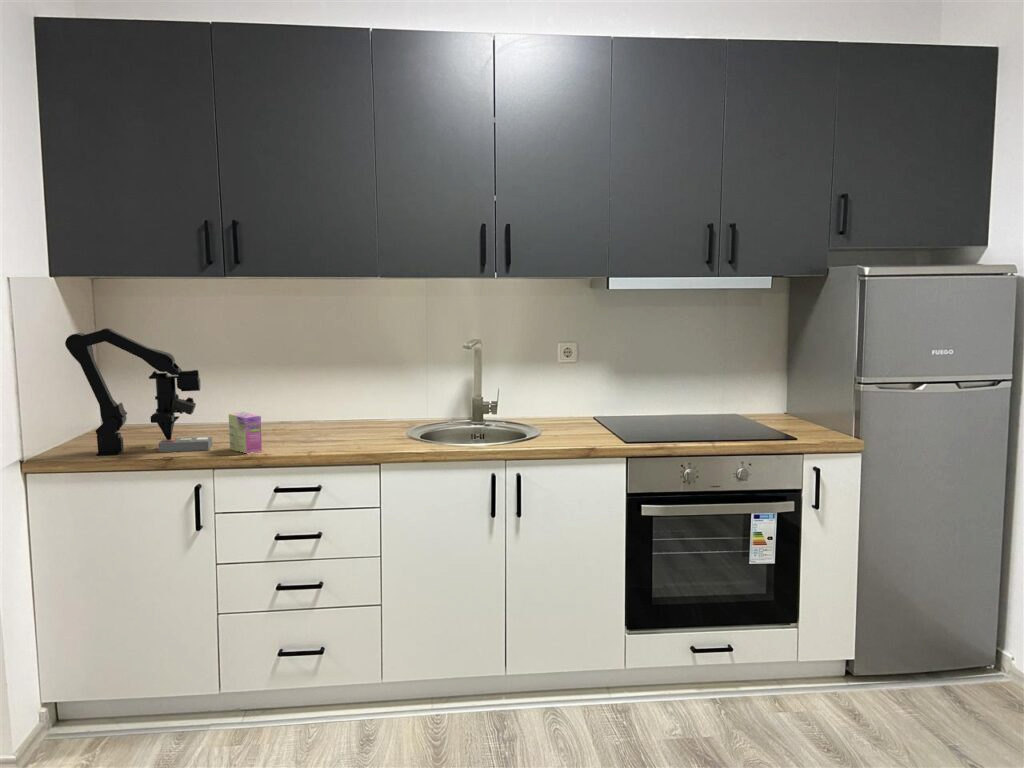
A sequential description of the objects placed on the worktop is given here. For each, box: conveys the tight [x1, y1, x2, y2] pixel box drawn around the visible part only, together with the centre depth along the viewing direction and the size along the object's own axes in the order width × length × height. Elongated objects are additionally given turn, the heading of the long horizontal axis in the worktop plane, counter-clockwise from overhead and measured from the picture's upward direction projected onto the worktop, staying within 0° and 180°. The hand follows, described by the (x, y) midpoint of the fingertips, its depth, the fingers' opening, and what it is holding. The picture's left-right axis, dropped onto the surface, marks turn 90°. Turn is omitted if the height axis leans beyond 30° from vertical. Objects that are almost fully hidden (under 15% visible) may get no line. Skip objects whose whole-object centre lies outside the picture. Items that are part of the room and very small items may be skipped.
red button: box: [162, 438, 176, 442], centre depth 254 cm, size 3×3×2 cm
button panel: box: [157, 436, 213, 453], centre depth 256 cm, size 15×8×3 cm, turn 101°
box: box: [228, 411, 263, 454], centre depth 252 cm, size 10×6×12 cm, turn 48°
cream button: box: [196, 436, 209, 441], centre depth 256 cm, size 3×3×2 cm
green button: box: [179, 437, 192, 441], centre depth 255 cm, size 3×3×2 cm
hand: (169, 439), depth 254 cm, fingers closed
